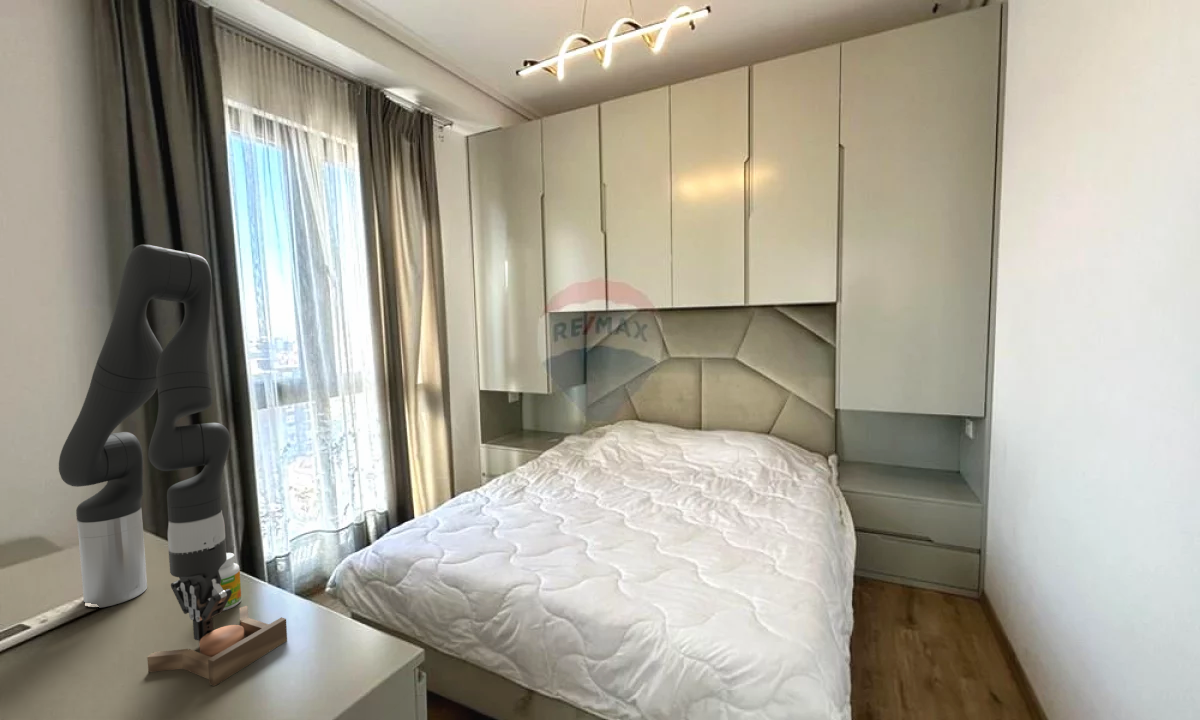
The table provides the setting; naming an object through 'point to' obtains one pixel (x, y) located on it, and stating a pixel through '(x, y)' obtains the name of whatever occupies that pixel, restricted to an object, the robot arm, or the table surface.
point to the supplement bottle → (231, 580)
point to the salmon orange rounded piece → (220, 639)
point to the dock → (225, 651)
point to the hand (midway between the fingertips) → (204, 637)
